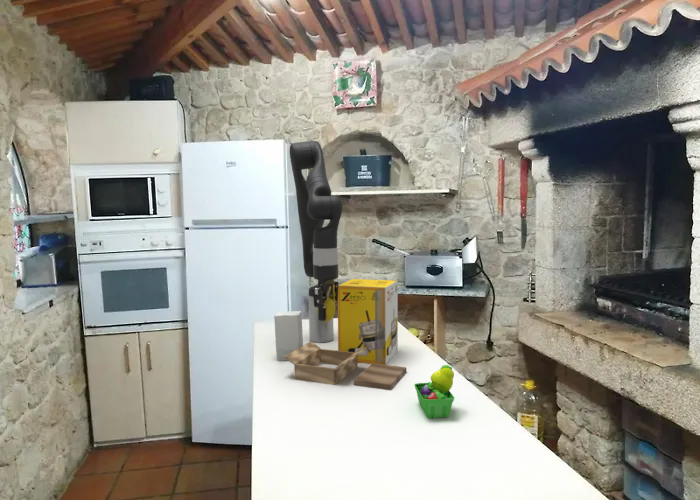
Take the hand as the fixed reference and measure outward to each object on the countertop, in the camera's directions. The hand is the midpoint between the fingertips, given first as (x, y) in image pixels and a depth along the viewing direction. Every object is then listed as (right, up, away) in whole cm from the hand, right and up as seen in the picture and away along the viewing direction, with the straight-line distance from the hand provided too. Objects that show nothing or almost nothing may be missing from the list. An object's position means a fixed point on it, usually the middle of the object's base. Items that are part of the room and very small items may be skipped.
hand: (326, 317), depth 150 cm
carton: (0, -17, +1) cm, 17 cm away
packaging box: (+14, -16, +18) cm, 28 cm away
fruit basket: (+28, -19, -27) cm, 44 cm away
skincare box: (-13, -16, +16) cm, 26 cm away
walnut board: (+16, -17, -4) cm, 24 cm away
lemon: (0, -1, 0) cm, 2 cm away
